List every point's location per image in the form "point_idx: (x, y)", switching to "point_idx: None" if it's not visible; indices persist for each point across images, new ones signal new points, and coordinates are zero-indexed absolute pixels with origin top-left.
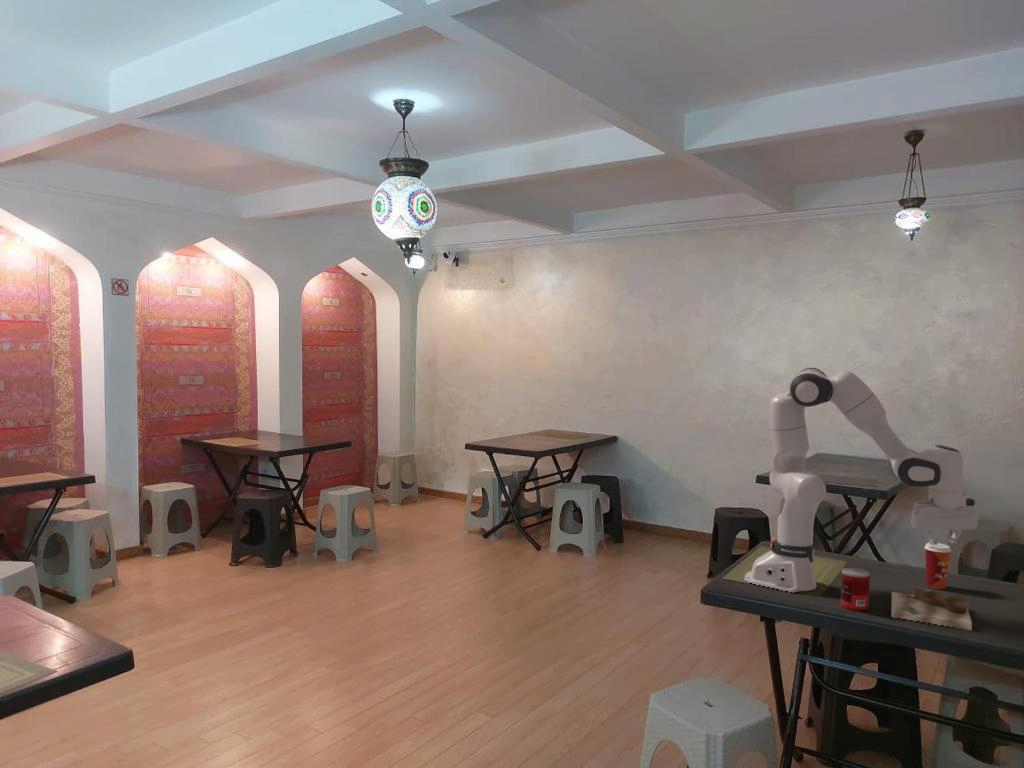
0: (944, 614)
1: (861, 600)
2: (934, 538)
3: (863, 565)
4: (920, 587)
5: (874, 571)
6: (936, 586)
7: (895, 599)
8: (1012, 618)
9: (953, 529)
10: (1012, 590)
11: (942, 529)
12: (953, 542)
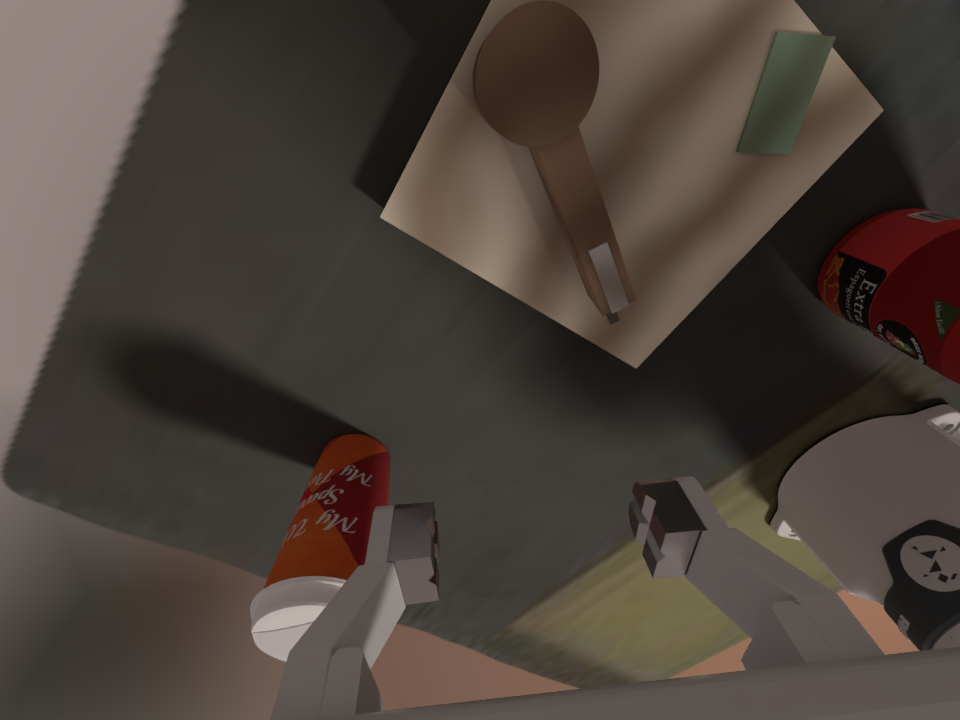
0: (646, 18)
1: (954, 218)
2: (717, 538)
3: (482, 604)
4: (607, 299)
5: (483, 569)
6: (369, 444)
7: (705, 277)
8: (185, 41)
9: (466, 709)
10: (30, 428)
11: (714, 689)
12: (426, 512)
